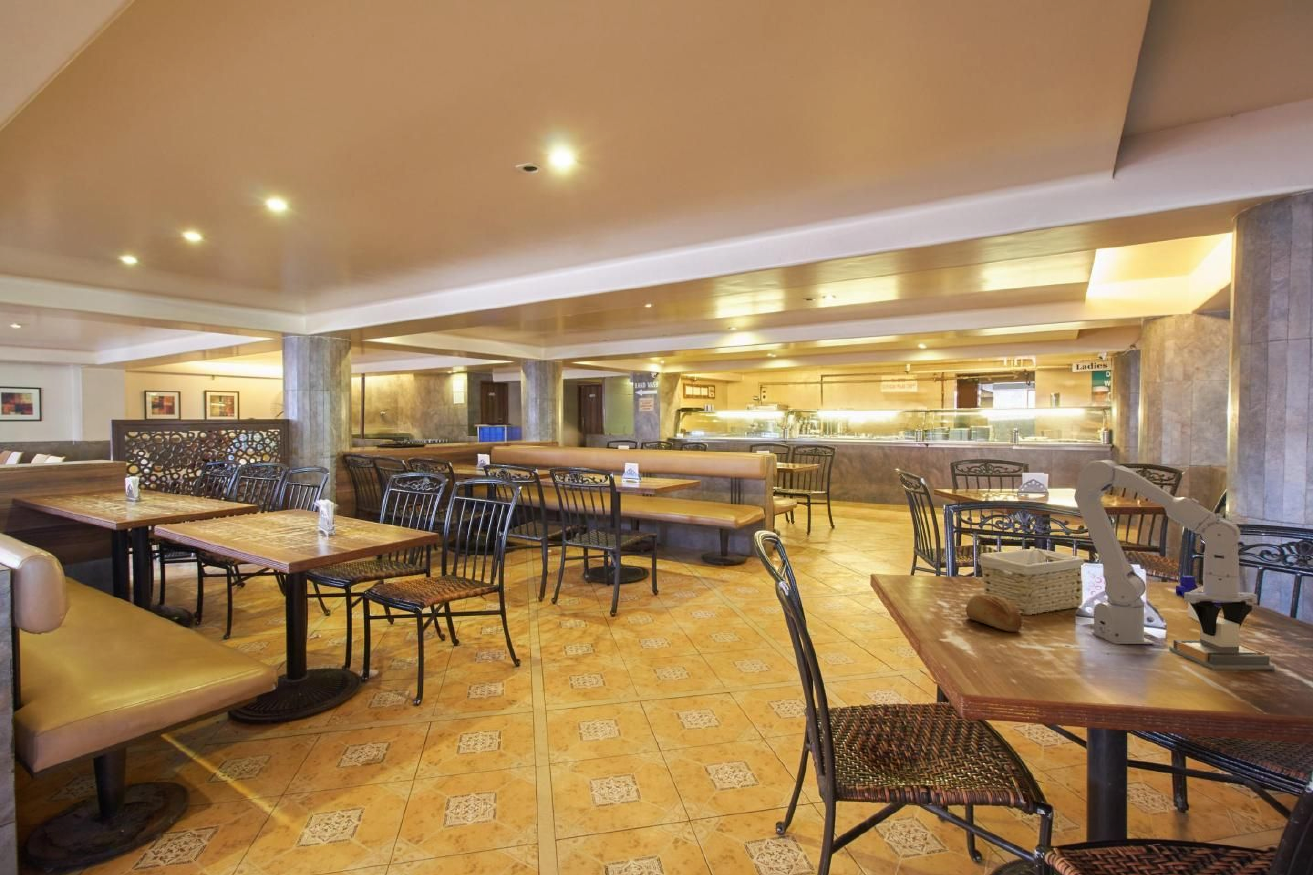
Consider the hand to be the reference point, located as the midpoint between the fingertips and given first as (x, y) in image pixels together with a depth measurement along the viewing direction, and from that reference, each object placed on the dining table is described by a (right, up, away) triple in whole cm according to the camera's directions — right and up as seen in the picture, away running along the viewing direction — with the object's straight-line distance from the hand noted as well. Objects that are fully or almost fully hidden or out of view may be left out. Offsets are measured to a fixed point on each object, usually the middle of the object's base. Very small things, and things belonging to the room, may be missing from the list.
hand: (1219, 634), depth 133 cm
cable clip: (+37, -5, +45) cm, 59 cm away
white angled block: (+21, -5, +27) cm, 35 cm away
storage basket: (-16, -5, +41) cm, 45 cm away
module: (0, -3, 0) cm, 3 cm away
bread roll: (-38, -6, +23) cm, 45 cm away
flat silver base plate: (0, -4, 0) cm, 4 cm away
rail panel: (0, -6, 0) cm, 6 cm away
